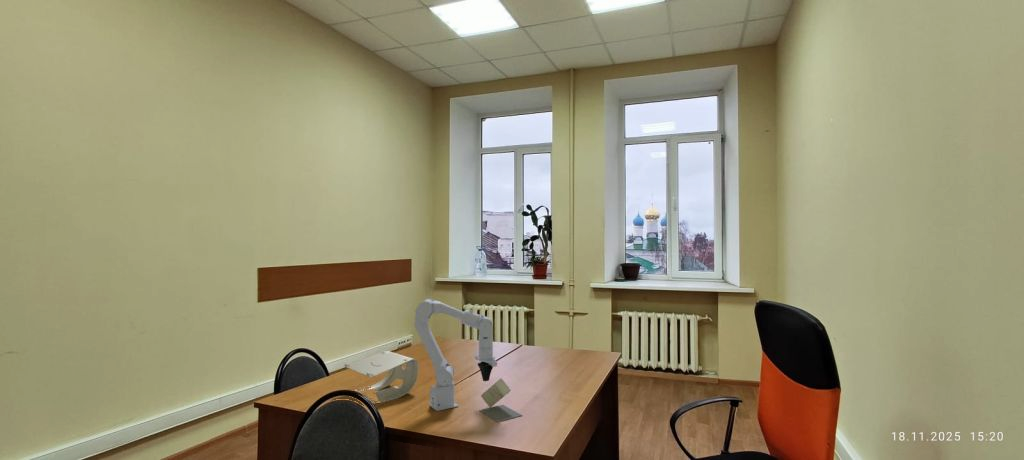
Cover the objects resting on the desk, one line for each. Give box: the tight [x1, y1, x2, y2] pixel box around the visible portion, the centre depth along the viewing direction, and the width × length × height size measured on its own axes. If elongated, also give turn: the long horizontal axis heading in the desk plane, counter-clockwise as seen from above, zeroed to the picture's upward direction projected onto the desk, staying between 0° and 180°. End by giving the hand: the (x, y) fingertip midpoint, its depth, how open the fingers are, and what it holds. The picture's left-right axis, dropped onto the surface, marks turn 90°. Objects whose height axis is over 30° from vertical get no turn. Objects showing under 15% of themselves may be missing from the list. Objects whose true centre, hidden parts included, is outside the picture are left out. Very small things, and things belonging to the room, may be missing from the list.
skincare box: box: [480, 377, 512, 408], centre depth 183 cm, size 6×4×12 cm
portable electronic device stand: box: [344, 350, 419, 404], centre depth 206 cm, size 26×24×16 cm
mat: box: [479, 404, 523, 423], centre depth 179 cm, size 11×14×1 cm
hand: (485, 380), depth 188 cm, fingers closed
